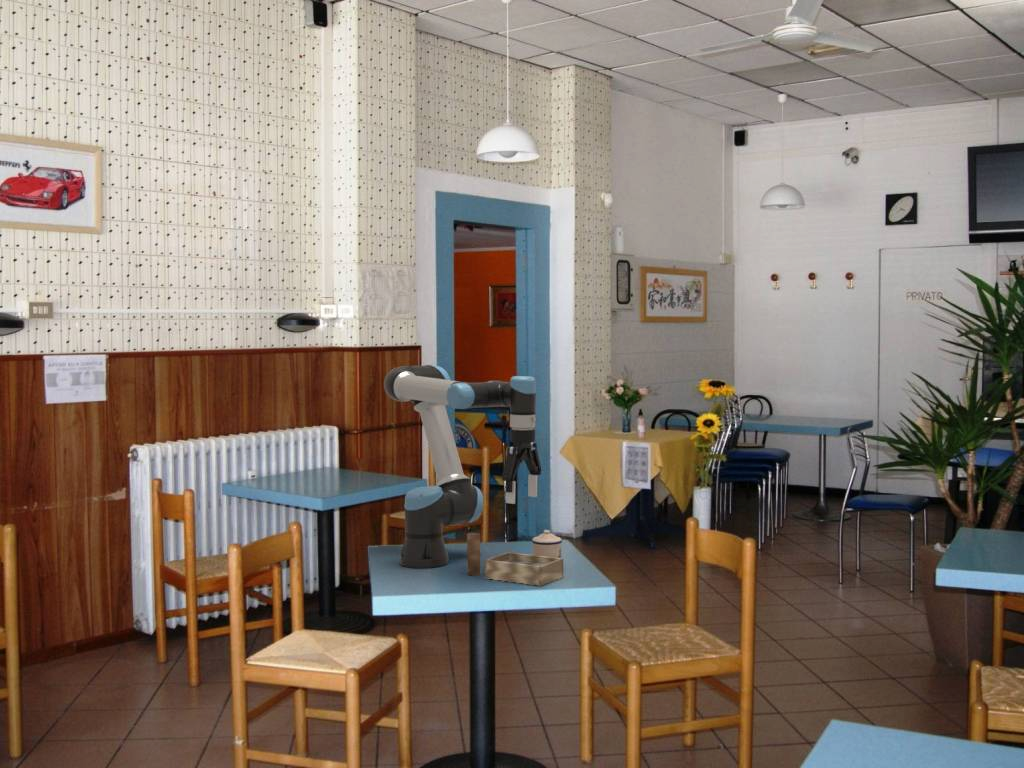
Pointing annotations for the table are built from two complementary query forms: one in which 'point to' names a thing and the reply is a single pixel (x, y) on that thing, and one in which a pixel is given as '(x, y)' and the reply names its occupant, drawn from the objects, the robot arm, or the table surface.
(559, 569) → the box with hole
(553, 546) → the teacup with lid
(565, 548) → the table surface
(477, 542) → the peg
